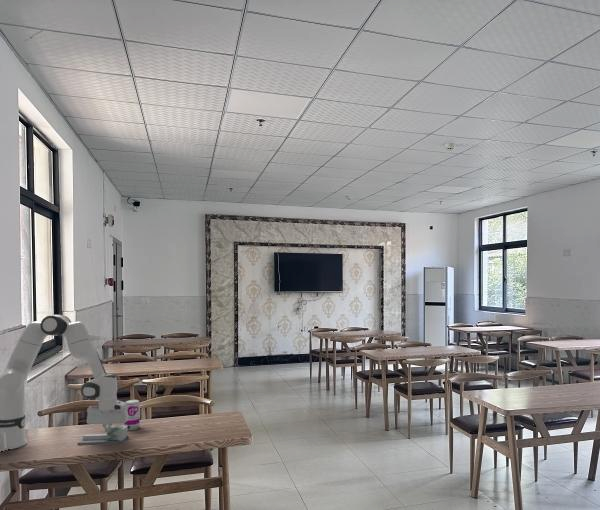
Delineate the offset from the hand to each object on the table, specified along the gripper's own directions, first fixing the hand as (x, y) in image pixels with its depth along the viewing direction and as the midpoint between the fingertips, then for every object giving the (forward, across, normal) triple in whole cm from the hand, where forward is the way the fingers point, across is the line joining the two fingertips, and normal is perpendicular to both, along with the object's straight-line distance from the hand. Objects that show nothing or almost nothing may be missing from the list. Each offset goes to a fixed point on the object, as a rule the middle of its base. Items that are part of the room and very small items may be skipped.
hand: (107, 432), depth 228 cm
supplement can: (+4, +7, +19) cm, 21 cm away
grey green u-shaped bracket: (+4, -2, 0) cm, 5 cm away
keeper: (+3, +4, 0) cm, 5 cm away
